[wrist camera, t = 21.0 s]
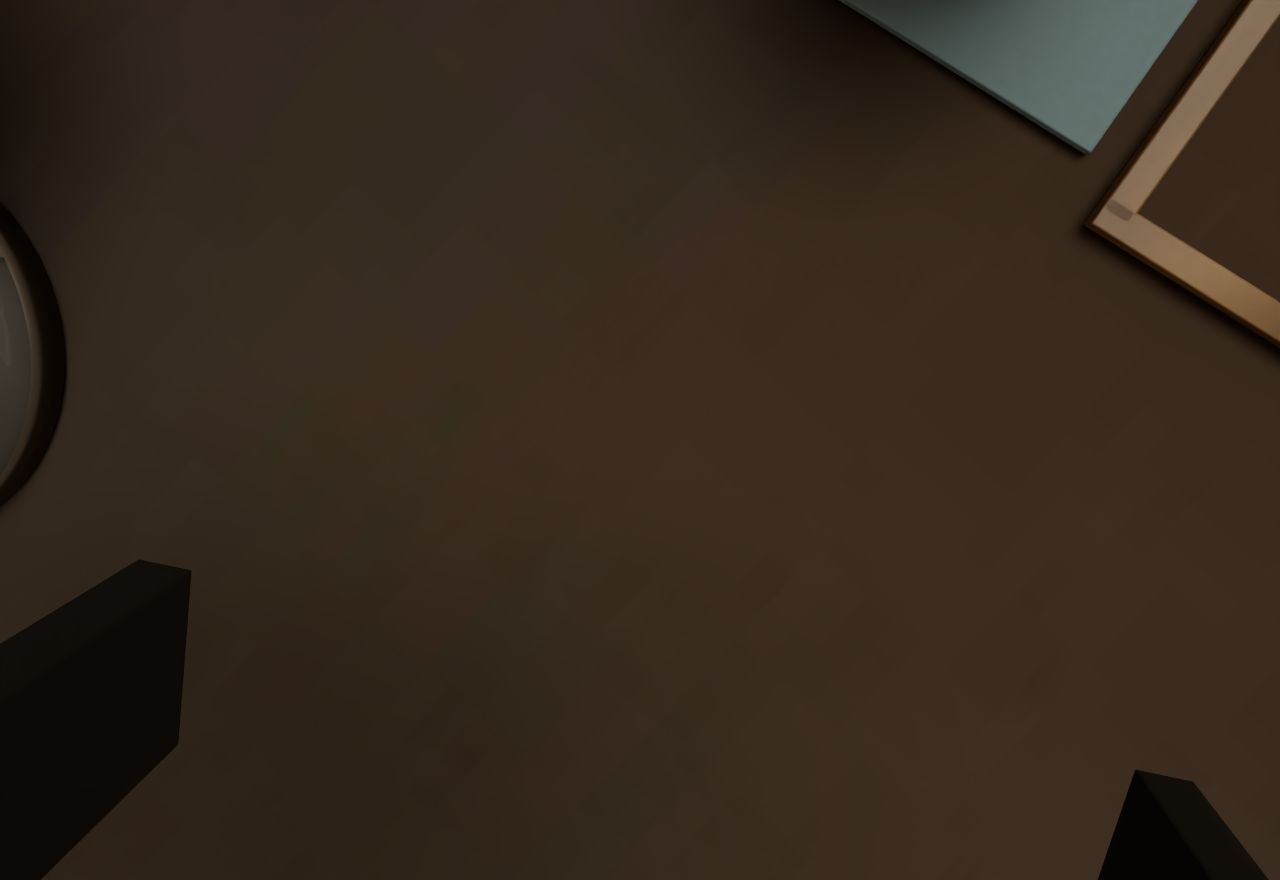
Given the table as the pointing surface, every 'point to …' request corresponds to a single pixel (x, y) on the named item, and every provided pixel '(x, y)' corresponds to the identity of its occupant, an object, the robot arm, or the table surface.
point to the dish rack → (1159, 153)
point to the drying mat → (1041, 52)
